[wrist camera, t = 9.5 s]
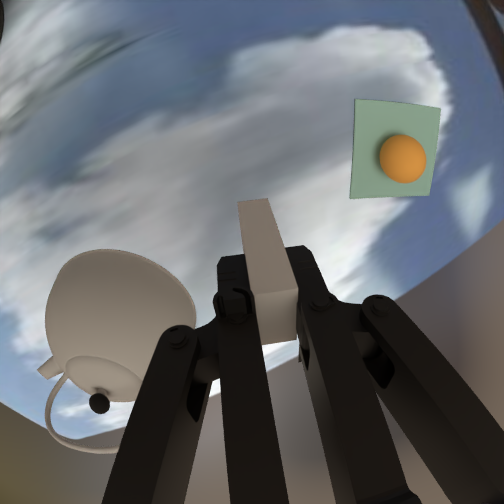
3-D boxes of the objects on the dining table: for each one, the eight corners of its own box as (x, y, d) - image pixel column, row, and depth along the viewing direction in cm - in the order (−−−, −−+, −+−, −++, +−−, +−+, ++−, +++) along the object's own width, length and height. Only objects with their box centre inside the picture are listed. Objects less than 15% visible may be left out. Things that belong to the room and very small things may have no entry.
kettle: (91, 362, 49) (68, 469, 31) (22, 270, 37) (-43, 391, 18) (214, 346, 48) (219, 479, 30) (162, 230, 35) (121, 405, 17)
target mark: (354, 98, 28) (355, 99, 28) (439, 108, 29) (440, 108, 29) (349, 198, 35) (350, 199, 35) (428, 194, 36) (428, 195, 35)
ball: (383, 126, 31) (377, 136, 27) (428, 135, 29) (429, 146, 25) (381, 169, 34) (374, 185, 31) (423, 178, 32) (422, 195, 28)
